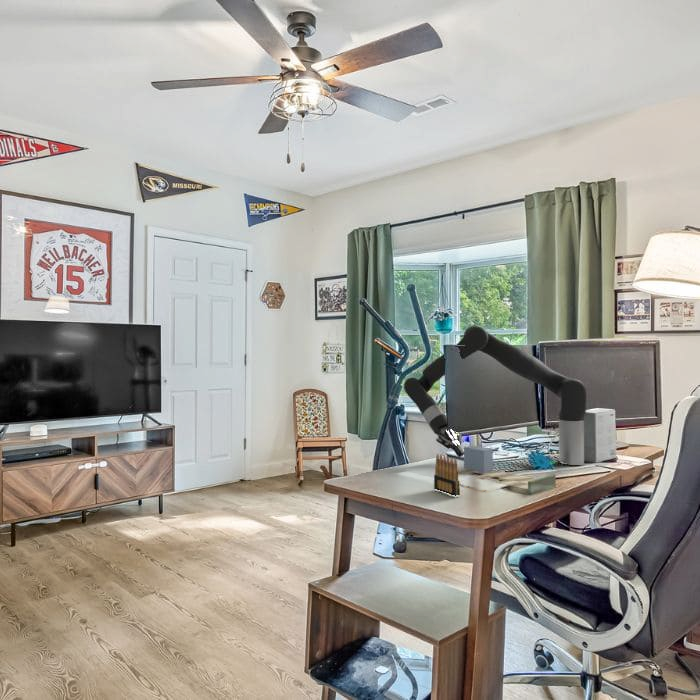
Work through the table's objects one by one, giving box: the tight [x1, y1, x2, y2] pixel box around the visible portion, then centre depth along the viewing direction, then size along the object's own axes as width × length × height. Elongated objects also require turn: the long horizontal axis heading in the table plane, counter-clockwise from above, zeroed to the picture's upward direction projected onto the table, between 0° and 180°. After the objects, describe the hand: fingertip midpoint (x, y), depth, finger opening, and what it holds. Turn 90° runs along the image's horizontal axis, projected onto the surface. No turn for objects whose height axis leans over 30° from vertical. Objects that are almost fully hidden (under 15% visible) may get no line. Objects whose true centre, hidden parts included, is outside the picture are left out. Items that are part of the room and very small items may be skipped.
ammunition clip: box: [433, 453, 461, 496], centre depth 177 cm, size 11×2×12 cm, turn 29°
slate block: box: [463, 445, 494, 473], centre depth 203 cm, size 9×5×8 cm, turn 39°
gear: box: [527, 449, 557, 471], centre depth 207 cm, size 11×6×10 cm
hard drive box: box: [584, 407, 617, 464], centre depth 226 cm, size 16×8×20 cm, turn 126°
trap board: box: [458, 467, 557, 496], centre depth 193 cm, size 33×16×4 cm, turn 39°
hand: (461, 455), depth 209 cm, fingers closed
